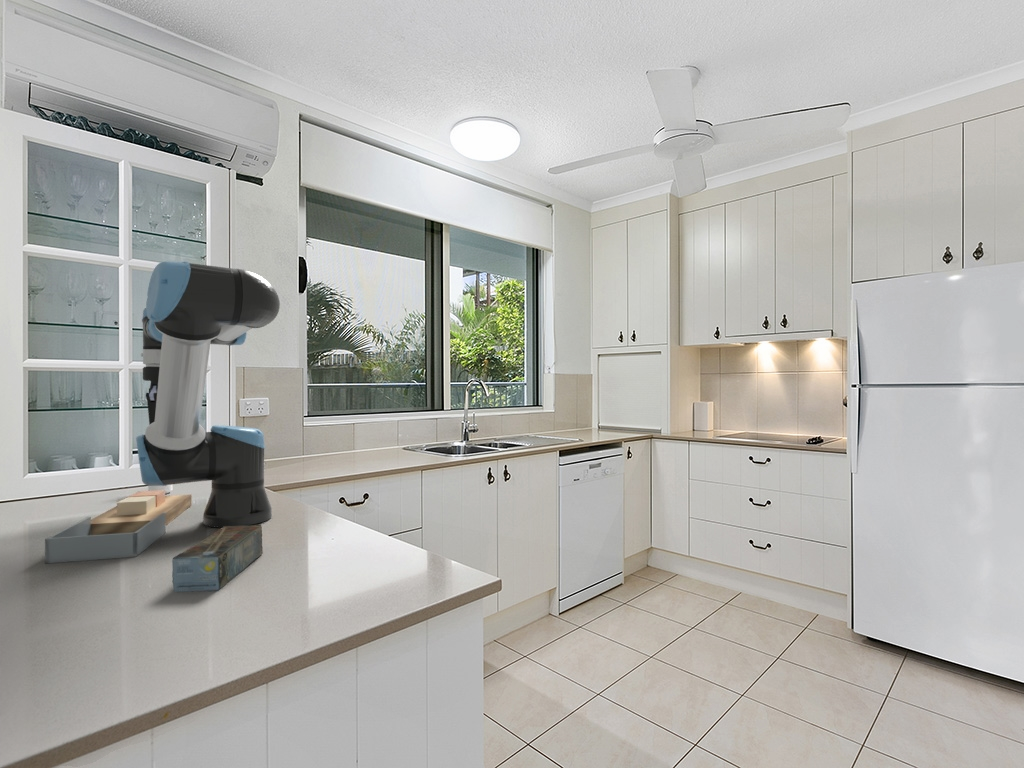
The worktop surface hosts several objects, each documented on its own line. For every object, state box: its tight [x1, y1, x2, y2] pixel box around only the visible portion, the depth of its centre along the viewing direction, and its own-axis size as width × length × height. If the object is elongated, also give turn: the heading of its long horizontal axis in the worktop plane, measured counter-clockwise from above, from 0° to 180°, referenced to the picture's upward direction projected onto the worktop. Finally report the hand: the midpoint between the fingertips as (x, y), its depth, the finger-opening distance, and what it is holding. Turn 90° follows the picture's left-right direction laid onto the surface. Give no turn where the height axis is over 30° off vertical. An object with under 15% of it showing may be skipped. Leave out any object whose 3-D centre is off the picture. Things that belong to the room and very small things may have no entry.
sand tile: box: [116, 496, 156, 516], centre depth 130 cm, size 6×6×3 cm
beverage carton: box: [171, 524, 264, 592], centre depth 99 cm, size 8×19×7 cm, turn 4°
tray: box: [44, 513, 166, 564], centre depth 113 cm, size 15×17×5 cm
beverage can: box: [147, 484, 174, 495], centre depth 165 cm, size 6×6×12 cm
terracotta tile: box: [128, 490, 166, 507], centre depth 137 cm, size 6×6×3 cm
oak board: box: [91, 494, 192, 535], centre depth 134 cm, size 14×28×3 cm, turn 16°
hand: (159, 453), depth 146 cm, fingers closed
